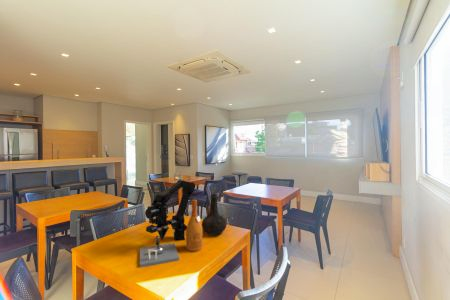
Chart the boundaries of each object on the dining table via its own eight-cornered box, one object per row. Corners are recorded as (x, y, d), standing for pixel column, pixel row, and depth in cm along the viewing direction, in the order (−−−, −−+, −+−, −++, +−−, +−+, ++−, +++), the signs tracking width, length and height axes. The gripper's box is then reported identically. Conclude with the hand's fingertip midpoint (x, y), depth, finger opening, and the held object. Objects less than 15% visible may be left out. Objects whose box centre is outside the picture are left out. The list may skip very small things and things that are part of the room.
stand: (173, 245, 141) (173, 234, 141) (179, 260, 122) (179, 247, 122) (139, 250, 133) (139, 238, 133) (140, 267, 115) (140, 253, 115)
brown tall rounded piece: (189, 253, 130) (189, 202, 129) (184, 246, 138) (184, 198, 138) (204, 250, 134) (204, 200, 134) (199, 243, 143) (198, 196, 142)
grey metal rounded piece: (161, 245, 137) (161, 235, 137) (163, 253, 126) (163, 242, 126) (146, 247, 134) (146, 237, 134) (146, 256, 123) (146, 245, 123)
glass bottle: (211, 240, 148) (211, 198, 148) (197, 232, 162) (196, 193, 162) (231, 233, 159) (231, 194, 159) (216, 226, 173) (216, 190, 173)
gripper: (166, 208, 150) (166, 232, 150) (140, 215, 136) (140, 241, 136) (177, 211, 143) (177, 236, 143) (151, 219, 129) (151, 246, 129)
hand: (161, 239), depth 138 cm, fingers closed
